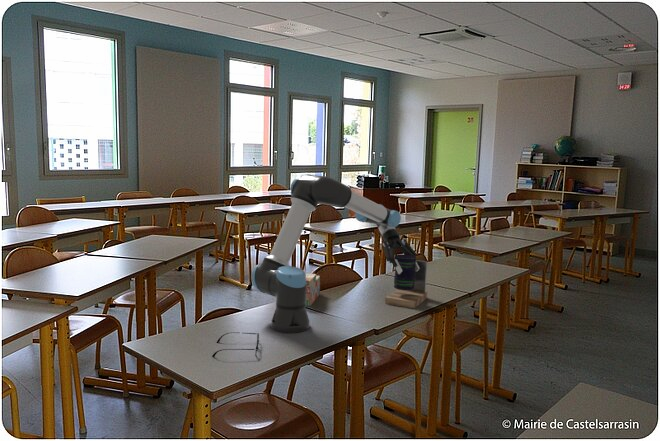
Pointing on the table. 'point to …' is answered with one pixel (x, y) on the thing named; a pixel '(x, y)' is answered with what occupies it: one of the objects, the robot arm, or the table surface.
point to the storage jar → (405, 272)
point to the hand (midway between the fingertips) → (409, 271)
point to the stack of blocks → (312, 288)
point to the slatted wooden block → (406, 298)
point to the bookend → (420, 277)
